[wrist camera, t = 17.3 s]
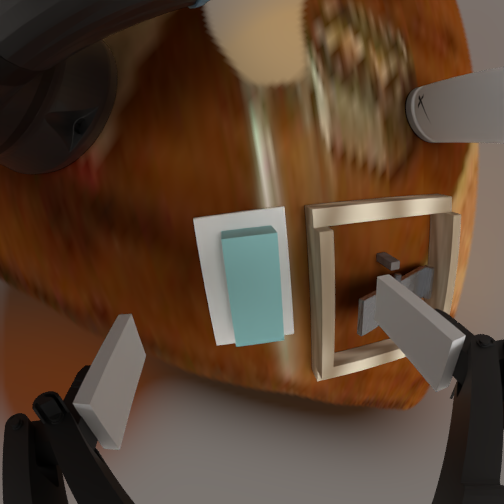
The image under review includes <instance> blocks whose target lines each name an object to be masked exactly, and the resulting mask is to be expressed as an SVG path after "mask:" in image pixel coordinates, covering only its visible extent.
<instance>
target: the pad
mask: <svg viewBox="0 0 504 504" xmlns="http://www.w3.org/2000/svg"><path fill="white" fill-rule="evenodd" d="M193 222H194V228H195V234H196V240H197V246H198V252H199V257H200V263H201V269H202V274H203V280H204V285H205V290H206V296H207V301H208V306H209V311H210V316H211V321H212V326H213V330H214V335H215V340H216V344H217V345H224V344H232V343H236V342H235V336H234V329H233V322H232V315H231V308H230V301H229V294H228V287H227V279H226V272H225V265H224V257H223V249H222V241H221V231H226V230H234V229H242V228H251V227H260V226H269V225H271V226H272V227H273V228H274V229H275V230H276V232H277V235H278V248H279V262H280V277H281V292H282V309H283V327H284V335H290V334H294V324H293V308H292V293H291V279H290V266H289V253H288V242H287V230H286V219H285V209H284V206H277V207H269V208H261V209H253V210H246V211H238V212H231V213H224V214H217V215H210V216H203V217H196V218H193Z"/></svg>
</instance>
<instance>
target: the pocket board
mask: <svg viewBox="0 0 504 504" xmlns="http://www.w3.org/2000/svg"><path fill="white" fill-rule="evenodd" d="M451 210H452V197H450V196H446V195H441V194H428V195H413V196H400V197H387V198H375V199H364V200H353V201H343V202H333V203H323V204H314V205H305V217H306V231H307V246H308V262H309V281H310V305H311V342H312V370H313V372H314V375H315V377H316V379H317V381H321V380H325V379H330V378H334V377H338V376H342V375H346V374H350V373H353V372H357V371H361V370H364V369H368V368H371V367H375V366H378V365H381V364H385V363H388V362H391V361H394V360H397V359H400V358H403V357H406V356H405V354H404V353H403V352H402V351H401V350H400V349H399V348H398V346H397V345H396V344H395V343H394V342H393V341H392V339H391V338H390V339H387V340H383V341H380V342H376V343H372V344H369V345H365V346H361V347H357V348H353V349H349V350H345V351H341V352H337V353H334V337H335V260H334V232H333V230H332V229H330V228H329V227H327V226H334V225H342V224H350V223H358V222H366V221H374V220H383V219H391V218H400V217H409V216H417V215H426V214H430V243H429V258H428V266H431V267H434V277H433V286H432V294H431V298H430V299H426V298H424V302H426V303H427V304H428V305H429V306H431V307H432V308H433V309H439V310H442V311H444V312H446V313H447V314H449V315H450V310H451V304H452V299H453V293H454V286H455V279H456V272H457V263H458V254H459V243H460V228H461V214H458V213H454V212H451ZM377 261H378V262H379V263H381V264H382V265H384V266H385V267H387V268H388V269H389V270H396V269H399V265H400V261H399V260H397V259H396V258H394V257H392V256H390V255H389V254H387V253H385V252H383V253H377Z"/></svg>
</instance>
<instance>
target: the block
mask: <svg viewBox="0 0 504 504" xmlns="http://www.w3.org/2000/svg"><path fill="white" fill-rule="evenodd" d="M221 241H222V249H223V257H224V265H225V272H226V279H227V287H228V294H229V301H230V308H231V315H232V322H233V329H234V336H235V342H236V347H238V346H246V345H254V344H261V343H268V342H275V341H281V340H284V327H283V309H282V292H281V277H280V262H279V248H278V235H277V232H276V230H275V229H274V228H273V227H272V226H271V225H269V226H260V227H251V228H242V229H234V230H226V231H221Z"/></svg>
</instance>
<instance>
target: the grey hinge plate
mask: <svg viewBox="0 0 504 504" xmlns="http://www.w3.org/2000/svg"><path fill="white" fill-rule="evenodd" d="M401 275H402V274H401V273H394V276H393V278H394V279H396V280H397V281H398V282H400V283H401V284H402V285H404V286H405V287H406V288H408V289H409V290H410V291H411V292H413V293H414V294H415V295H417V296H418V297H419V298H422V297H423V298H426V299H430V298H431V294H432V286H433V277H434V267H431V266H427V265H425V266H420V267H418V268H416V269H414V270H413V271H411V272H409V273H407V274H405V275H404V276H402V277H401ZM375 304H376V290H375V291H373V292H371V293H369V294H367V295H365V296H363V297H361V298H359V310H358V328H357V334H359V335H360V336H363V335H365V334H366V333H368V332H370V331H371V330H373V329H375V328H376V327H378V326H379V325H378V324H377V323H376V321H375V320H374V315H375Z"/></svg>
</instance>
